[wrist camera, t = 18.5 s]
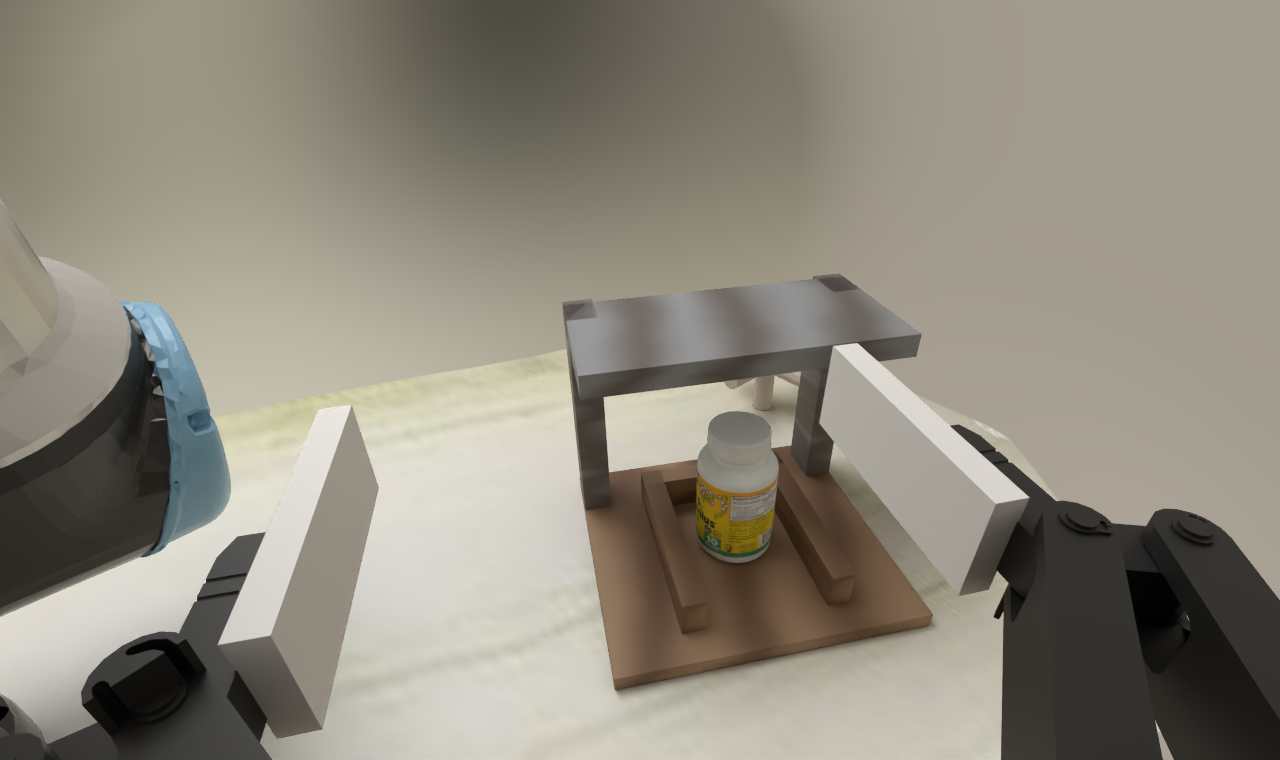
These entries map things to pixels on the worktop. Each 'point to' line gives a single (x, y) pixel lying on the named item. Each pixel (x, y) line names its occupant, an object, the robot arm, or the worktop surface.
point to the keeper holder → (666, 494)
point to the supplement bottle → (736, 488)
